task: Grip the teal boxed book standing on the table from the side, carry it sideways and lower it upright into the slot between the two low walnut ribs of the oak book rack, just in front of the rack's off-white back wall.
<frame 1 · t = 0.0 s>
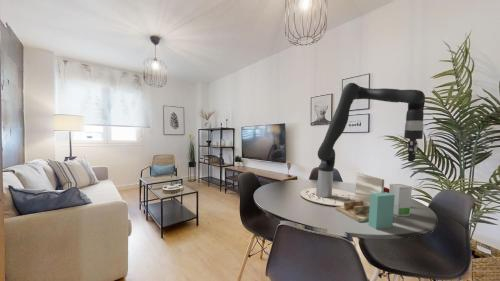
hand: (411, 160, 107), 29 cm above the table, tool pointing down, fingers open, 8 cm apart
book: (380, 225, 96), on the table
skincare box: (398, 213, 111), on the table
decorative bird figurine: (396, 205, 125), on the table
book rack: (356, 213, 109), on the table
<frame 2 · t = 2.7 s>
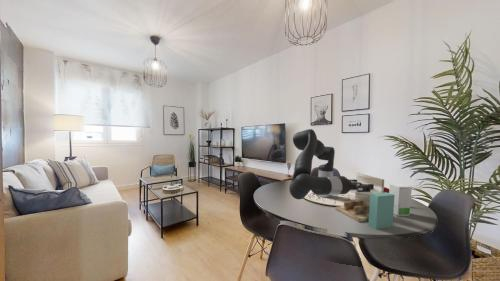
hand: (364, 184, 91), 20 cm above the table, tool horizontal, fingers open, 8 cm apart
nothing on the table moved.
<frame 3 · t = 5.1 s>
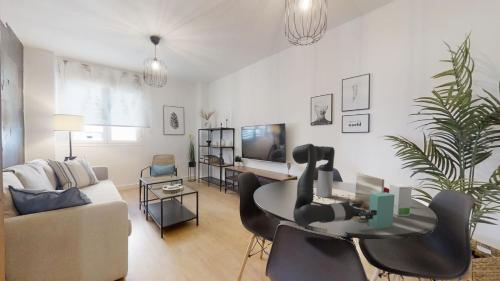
hand: (367, 208, 93), 9 cm above the table, tool horizontal, fingers open, 8 cm apart
nothing on the table moved.
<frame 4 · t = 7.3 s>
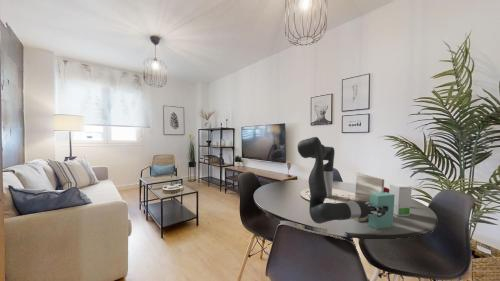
hand: (382, 206, 96), 9 cm above the table, tool horizontal, fingers closed on book, 4 cm apart
book: (380, 225, 96), on the table, touching gripper
everything else where it was.
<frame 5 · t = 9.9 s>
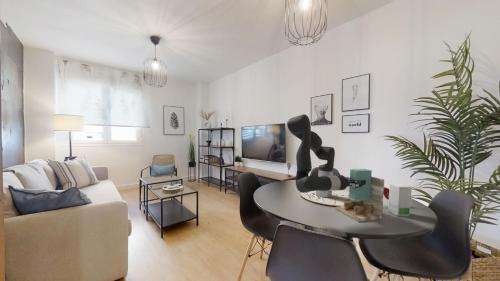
hand: (361, 181, 108), 18 cm above the table, tool horizontal, fingers closed on book, 4 cm apart
book: (359, 198, 108), point 9 cm above the table, touching gripper
everything else where it was.
when the fingers open (11 cm above the table, at t = 12.4 s): book stays where it is, resting on book rack.
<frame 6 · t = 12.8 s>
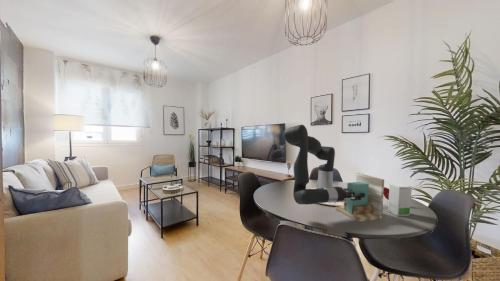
hand: (357, 192, 108), 12 cm above the table, tool horizontal, fingers open, 8 cm apart
book: (356, 211, 109), point 1 cm above the table, touching book rack
everything else where it was.
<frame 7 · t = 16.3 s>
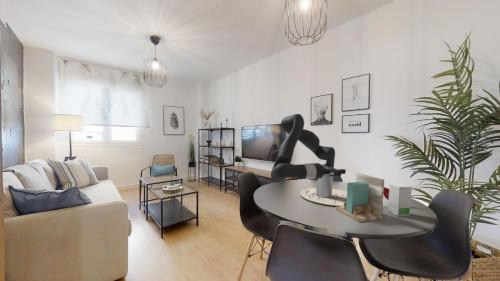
hand: (338, 169, 104), 24 cm above the table, tool horizontal, fingers open, 8 cm apart
nothing on the table moved.
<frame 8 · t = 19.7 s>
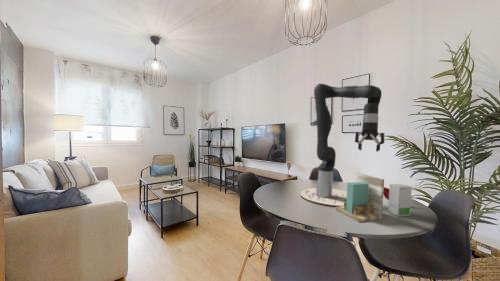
hand: (368, 150, 116), 33 cm above the table, tool pointing down, fingers open, 8 cm apart
nothing on the table moved.
at the end: book 0.2 cm off-centre on the book rack, point 1.5 cm above the book rack's base; book tilted 0°; the gripper is holding nothing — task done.
